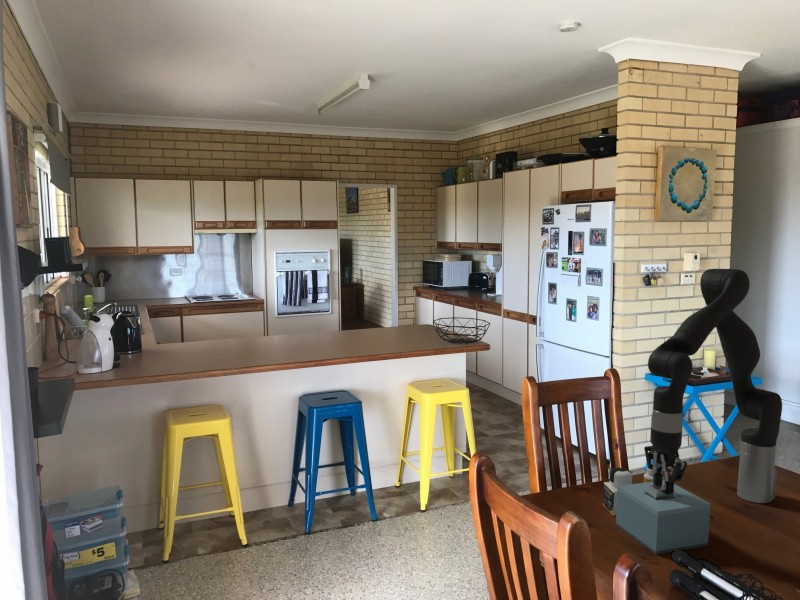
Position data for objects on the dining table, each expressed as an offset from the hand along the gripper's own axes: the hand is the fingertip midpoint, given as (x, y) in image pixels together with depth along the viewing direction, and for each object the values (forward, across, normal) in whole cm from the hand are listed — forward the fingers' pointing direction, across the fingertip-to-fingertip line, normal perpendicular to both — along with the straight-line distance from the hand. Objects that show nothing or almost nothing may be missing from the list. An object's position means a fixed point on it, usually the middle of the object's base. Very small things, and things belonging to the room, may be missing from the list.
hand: (662, 490), depth 165 cm
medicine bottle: (+13, +16, +1) cm, 20 cm away
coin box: (+12, 0, 0) cm, 12 cm away
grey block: (+5, 0, +1) cm, 5 cm away
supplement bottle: (+13, +18, -12) cm, 25 cm away
